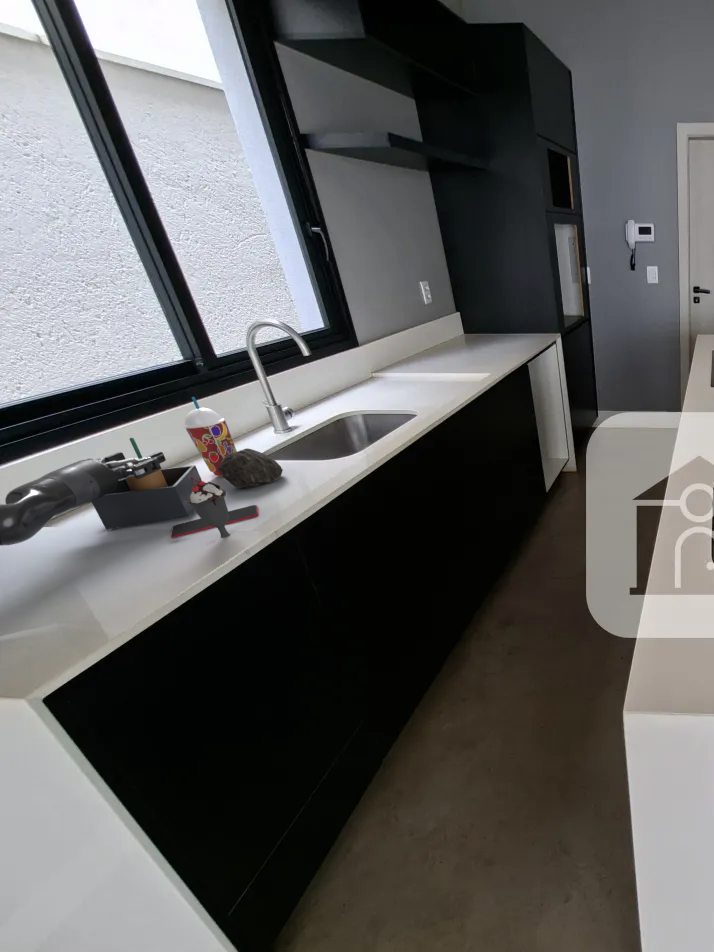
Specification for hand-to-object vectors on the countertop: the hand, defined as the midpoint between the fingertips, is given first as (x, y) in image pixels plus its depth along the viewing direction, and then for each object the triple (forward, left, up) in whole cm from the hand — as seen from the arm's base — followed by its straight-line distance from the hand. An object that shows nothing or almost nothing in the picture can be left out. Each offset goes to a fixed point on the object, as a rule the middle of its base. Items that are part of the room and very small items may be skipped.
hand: (142, 456), depth 124 cm
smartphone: (+13, -16, -12) cm, 24 cm away
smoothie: (+7, +20, -13) cm, 25 cm away
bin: (-1, -2, -13) cm, 13 cm away
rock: (+16, +7, -13) cm, 22 cm away
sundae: (+17, -26, -13) cm, 34 cm away
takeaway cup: (-1, -2, -12) cm, 12 cm away
